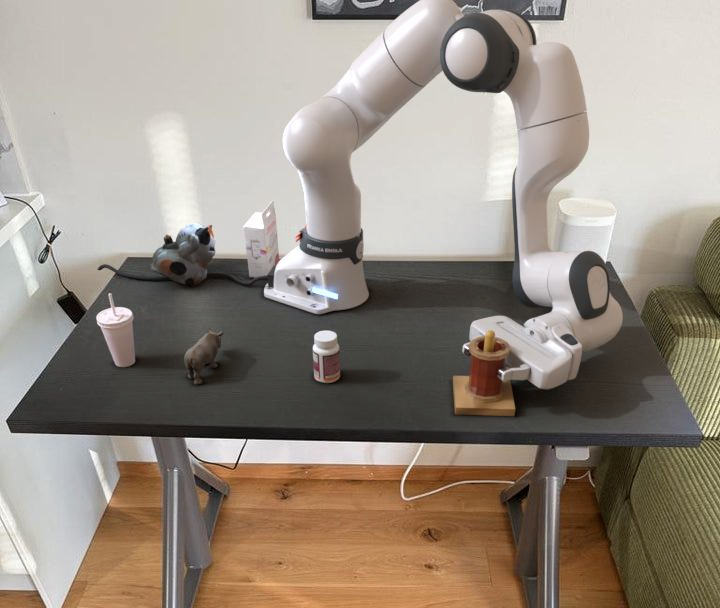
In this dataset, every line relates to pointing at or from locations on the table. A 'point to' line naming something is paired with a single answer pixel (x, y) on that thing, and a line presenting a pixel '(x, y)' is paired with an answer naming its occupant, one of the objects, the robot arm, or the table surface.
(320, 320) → the table surface
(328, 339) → the pill bottle
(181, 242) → the lucky cat figurine
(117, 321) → the smoothie
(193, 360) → the rhino figurine
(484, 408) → the peg stand
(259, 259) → the ink cartridge box
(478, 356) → the spool
